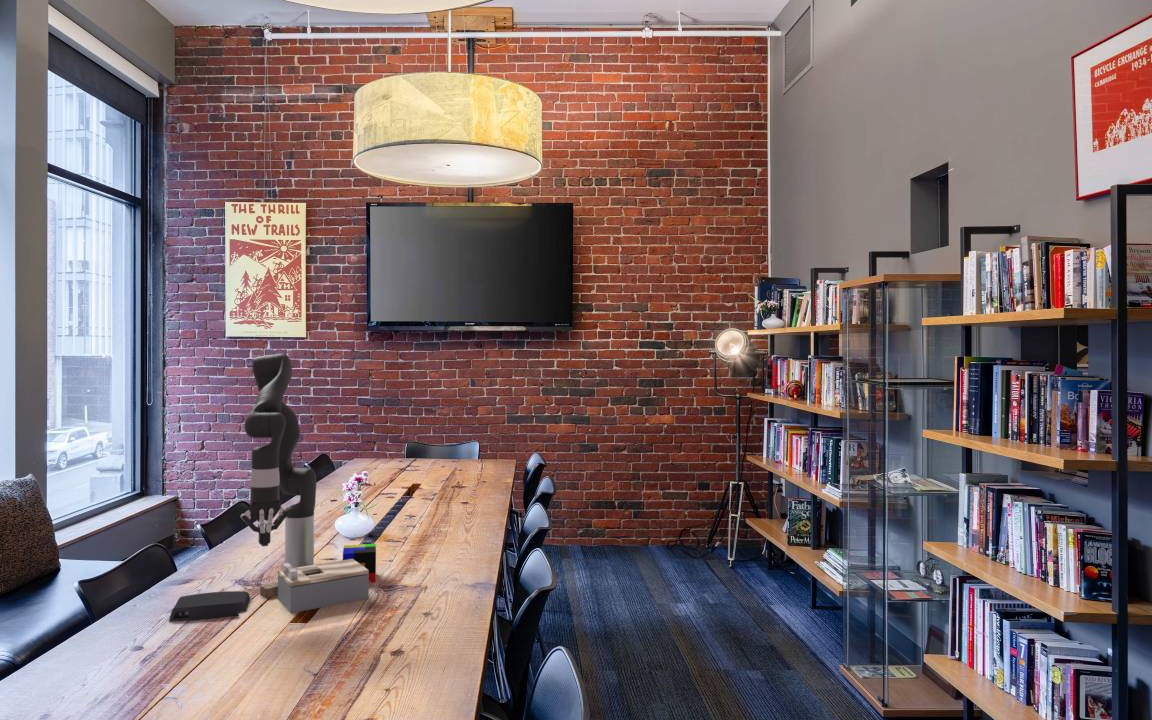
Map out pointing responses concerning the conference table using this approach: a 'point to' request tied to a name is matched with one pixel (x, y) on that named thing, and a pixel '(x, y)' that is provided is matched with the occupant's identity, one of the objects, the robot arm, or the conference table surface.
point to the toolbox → (322, 592)
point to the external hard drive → (210, 605)
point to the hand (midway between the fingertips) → (264, 545)
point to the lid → (321, 572)
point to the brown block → (269, 590)
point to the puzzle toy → (363, 557)
